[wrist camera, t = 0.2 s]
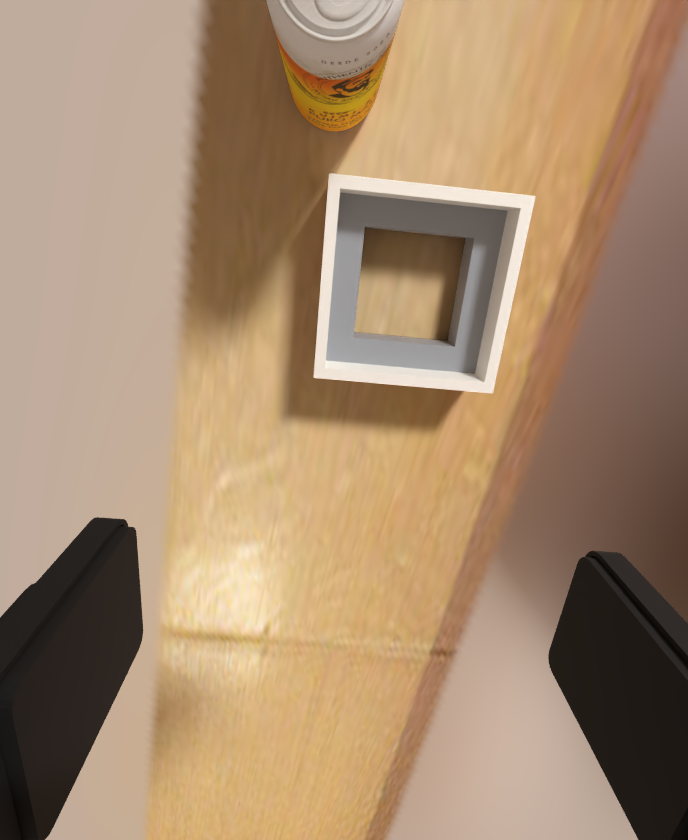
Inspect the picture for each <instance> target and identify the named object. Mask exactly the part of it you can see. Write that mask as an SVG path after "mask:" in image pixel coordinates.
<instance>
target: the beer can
mask: <svg viewBox="0 0 688 840" xmlns="http://www.w3.org/2000/svg"><path fill="white" fill-rule="evenodd" d="M266 2H267V5H268V9H269V13H270V16H271V20H272V24H273V27H274V31H275V35H276V39H277V42H278V46H279V50H280V53H281V57H282V61H283V64H284V68H285V72H286V75H287V79H288V83H289V86H290V90H291V94H292V97H293V100H294V102H295V104H296V106H297V108H298V110H299V111H300V113H301V114H302V115H303V116H304V117H305V119H307V120H308V121H309V122H310V123H311V124H313V125H314V126H316V127H318V128H320V129H323V130H327V131H342V130H346V129H349V128H351V127H353V126H355V125H357V124H358V123H359V122H360V121H362V120H363V119H364V118H365V117H366V115H367V114H368V113H369V111H370V110H371V108H372V106H373V104H374V102H375V99H376V96H377V93H378V89H379V86H380V82H381V79H382V76H383V72H384V69H385V65H386V62H387V59H388V55H389V52H390V48H391V45H392V42H393V38H394V35H395V31H396V28H397V25H398V21H399V18H400V14H401V11H402V8H403V4H404V0H266Z"/></svg>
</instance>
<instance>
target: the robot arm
mask: <svg viewBox="0 0 688 840" xmlns="http://www.w3.org/2000/svg"><path fill="white" fill-rule="evenodd" d="M142 622H143V621H142V607H141V593H140V579H139V566H138V551H137V536H136V530H135V528H134V527H128V524H127V522H126V520H124V519H111V518H94V519H92V520H91V521H90V522H89V523H88V524H87V526H86V527H85V528H84V529H83V530H82V531H81V532H80V534H79V535H78V536H77V537H76V538H75V539H74V540H73V541H72V543H71V544H70V545H69V546H68V547H67V548H66V549H65V551H64V552H63V553H62V554H61V555H60V556H59V557H58V559H57V560H56V561H55V562H54V563H53V564H52V565H51V566H50V568H49V569H48V570H47V571H46V572H45V573H44V574H43V575H42V577H41V578H40V579H39V580H38V581H37V582H36V583H35V584H32V585H30V586H29V587H28V588H27V589H26V590H25V591H24V592H23V593H22V594H21V595H20V596H19V597H18V598H17V600H16V601H15V602H14V603H13V604H12V605H11V606H10V607H9V609H8V610H7V611H6V612H5V613H4V614H3V615H2V616H1V617H0V840H45V839H46V838H47V837H48V835H49V834H50V832H51V830H52V828H53V827H54V824H55V822H56V820H57V818H58V816H59V814H60V812H61V810H62V808H63V806H64V804H65V802H66V800H67V797H68V795H69V793H70V791H71V789H72V787H73V785H74V783H75V781H76V779H77V777H78V775H79V772H80V770H81V768H82V766H83V764H84V762H85V760H86V758H87V756H88V754H89V752H90V750H91V748H92V746H93V743H94V741H95V739H96V737H97V735H98V733H99V731H100V729H101V727H102V725H103V723H104V720H105V719H106V716H107V714H108V712H109V710H110V708H111V706H112V704H113V702H114V700H115V698H116V696H117V693H118V691H119V689H120V687H121V685H122V683H123V681H124V679H125V677H126V675H127V673H128V671H129V669H130V666H131V664H132V662H133V660H134V658H135V656H136V654H137V652H138V650H139V647H140V644H141V641H142V635H143V623H142ZM549 664H550V668H551V671H552V673H553V675H554V677H555V679H556V681H557V683H558V685H559V687H560V688H561V690H562V692H563V694H564V696H565V698H566V700H567V702H568V704H569V706H570V708H571V710H572V712H573V714H574V716H575V718H576V719H577V721H578V723H579V725H580V727H581V729H582V731H583V733H584V735H585V737H586V739H587V741H588V742H589V744H590V746H591V749H592V750H593V752H594V754H595V756H596V758H597V760H598V762H599V764H600V766H601V768H602V770H603V772H604V773H605V776H606V777H607V780H608V781H609V783H610V785H611V787H612V789H613V791H614V793H615V795H616V797H617V799H618V801H619V803H620V804H621V807H622V809H623V810H624V812H625V814H626V816H627V818H628V820H629V822H630V824H631V826H632V828H633V830H634V832H635V834H636V836H637V838H638V840H688V623H687V622H686V621H685V620H684V619H683V618H682V617H681V616H680V615H679V614H678V613H677V612H676V611H675V610H674V608H673V607H672V606H671V605H670V604H669V603H668V602H667V601H666V600H665V599H664V598H663V597H662V596H661V595H660V594H659V593H658V592H657V590H656V589H655V588H654V587H653V586H652V585H651V584H650V583H649V582H648V581H647V580H646V579H645V578H644V577H643V576H642V575H641V573H639V571H638V570H637V569H636V568H635V567H634V566H633V565H632V564H631V563H630V562H629V561H628V560H627V559H626V558H625V557H624V556H623V555H622V554H620V553H617V552H602V551H591V552H589V553H588V554H587V555H586V557H583V558H581V559H580V560H579V562H578V564H577V567H576V570H575V573H574V576H573V579H572V582H571V585H570V589H569V592H568V595H567V598H566V601H565V604H564V607H563V610H562V614H561V616H560V619H559V622H558V626H557V629H556V632H555V635H554V638H553V641H552V644H551V647H550V650H549Z"/></svg>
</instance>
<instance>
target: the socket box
mask: <svg viewBox="0 0 688 840" xmlns="http://www.w3.org/2000/svg"><path fill="white" fill-rule="evenodd" d="M534 201H535V196H530V195H521V194H512V193H503V192H494V191H485V190H476V189H467V188H458V187H449V186H440V185H431V184H422V183H413V182H404V181H395V180H386V179H377V178H368V177H359V176H350V175H341V174H332V173H329V180H328V193H327V206H326V219H325V233H324V246H323V259H322V272H321V286H320V299H319V312H318V325H317V339H316V352H315V365H314V378H321V379H332V380H344V381H355V382H367V383H378V384H390V385H401V386H413V387H425V388H436V389H448V390H459V391H471V392H482V393H493V390H494V385H495V380H496V376H497V371H498V367H499V362H500V357H501V353H502V348H503V344H504V339H505V334H506V330H507V325H508V321H509V316H510V311H511V307H512V302H513V298H514V293H515V288H516V284H517V279H518V274H519V270H520V265H521V261H522V256H523V251H524V247H525V242H526V238H527V233H528V228H529V224H530V219H531V215H532V210H533V205H534ZM365 228H372V229H381V230H391V231H400V232H410V233H419V234H429V235H439V236H448V237H458V238H465V243H464V249H463V255H462V261H461V266H460V272H459V278H458V284H457V289H456V295H455V301H454V307H453V312H452V318H451V324H450V329H449V335H448V341H445V340H434V339H423V338H412V337H402V336H391V335H380V334H369V333H358V332H354V328H355V318H356V308H357V299H358V289H359V279H360V270H361V260H362V250H363V241H364V231H365Z"/></svg>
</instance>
